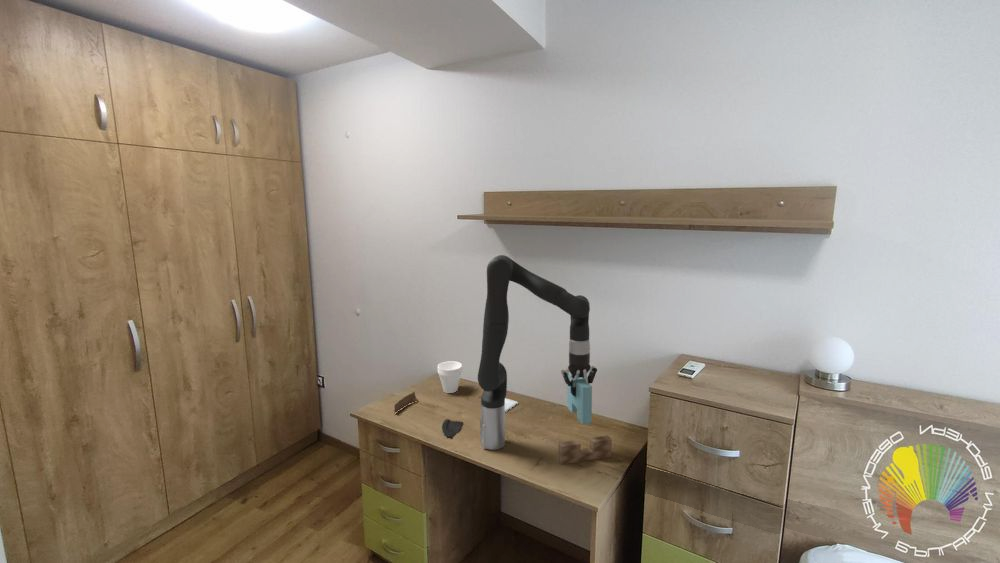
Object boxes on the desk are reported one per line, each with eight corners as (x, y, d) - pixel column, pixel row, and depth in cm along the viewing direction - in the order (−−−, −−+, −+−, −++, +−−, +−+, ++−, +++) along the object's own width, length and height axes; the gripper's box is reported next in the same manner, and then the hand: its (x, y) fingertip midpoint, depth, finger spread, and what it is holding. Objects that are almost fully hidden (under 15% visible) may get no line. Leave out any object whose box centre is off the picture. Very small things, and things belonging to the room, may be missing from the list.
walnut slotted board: (561, 464, 162) (561, 446, 161) (558, 459, 165) (558, 442, 164) (611, 456, 167) (611, 439, 166) (607, 452, 170) (608, 435, 168)
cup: (454, 384, 233) (453, 359, 230) (467, 391, 223) (466, 366, 221) (433, 390, 225) (432, 364, 223) (446, 398, 216) (445, 372, 213)
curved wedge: (436, 439, 181) (436, 435, 181) (445, 422, 194) (445, 419, 194) (456, 440, 180) (456, 436, 179) (463, 423, 193) (463, 420, 192)
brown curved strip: (397, 415, 200) (396, 405, 199) (393, 414, 200) (393, 404, 199) (418, 401, 213) (417, 391, 212) (414, 400, 214) (414, 391, 213)
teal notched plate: (591, 423, 160) (591, 386, 158) (582, 424, 159) (582, 387, 157) (575, 406, 173) (575, 372, 171) (567, 407, 173) (567, 373, 170)
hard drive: (503, 412, 200) (518, 401, 210) (488, 407, 204) (503, 397, 214) (503, 415, 200) (518, 404, 210) (488, 410, 205) (503, 400, 215)
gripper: (592, 345, 167) (591, 388, 170) (557, 349, 164) (557, 393, 167) (601, 351, 160) (601, 396, 163) (565, 356, 157) (565, 401, 160)
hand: (579, 394), depth 165 cm, fingers closed on teal notched plate, 3 cm apart
